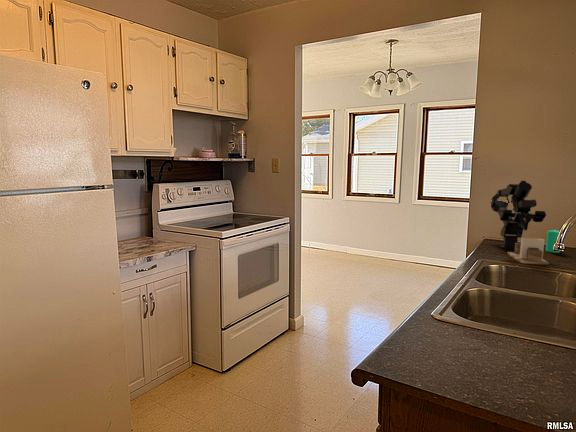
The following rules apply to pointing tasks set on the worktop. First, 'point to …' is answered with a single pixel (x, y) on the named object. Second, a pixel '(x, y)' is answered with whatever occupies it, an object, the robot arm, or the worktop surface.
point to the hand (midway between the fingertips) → (526, 229)
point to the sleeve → (531, 246)
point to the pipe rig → (532, 257)
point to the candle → (551, 240)
